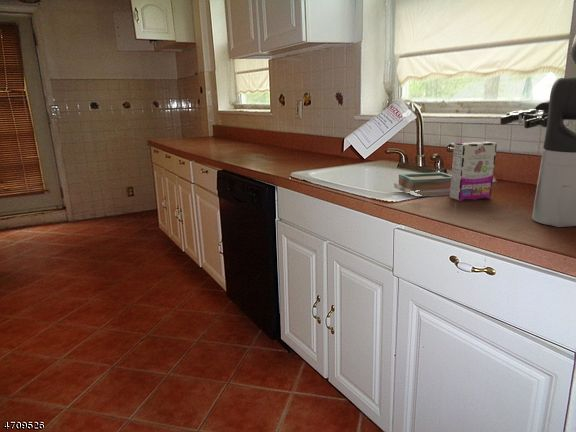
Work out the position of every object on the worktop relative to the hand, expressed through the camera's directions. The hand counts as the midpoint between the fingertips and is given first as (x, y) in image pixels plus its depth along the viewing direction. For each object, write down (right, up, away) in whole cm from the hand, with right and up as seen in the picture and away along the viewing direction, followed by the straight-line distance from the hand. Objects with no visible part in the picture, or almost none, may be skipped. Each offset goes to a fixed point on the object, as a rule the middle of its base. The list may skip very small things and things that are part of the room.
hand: (513, 122), depth 123 cm
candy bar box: (-11, -22, +4) cm, 25 cm away
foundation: (-20, -19, +14) cm, 31 cm away
